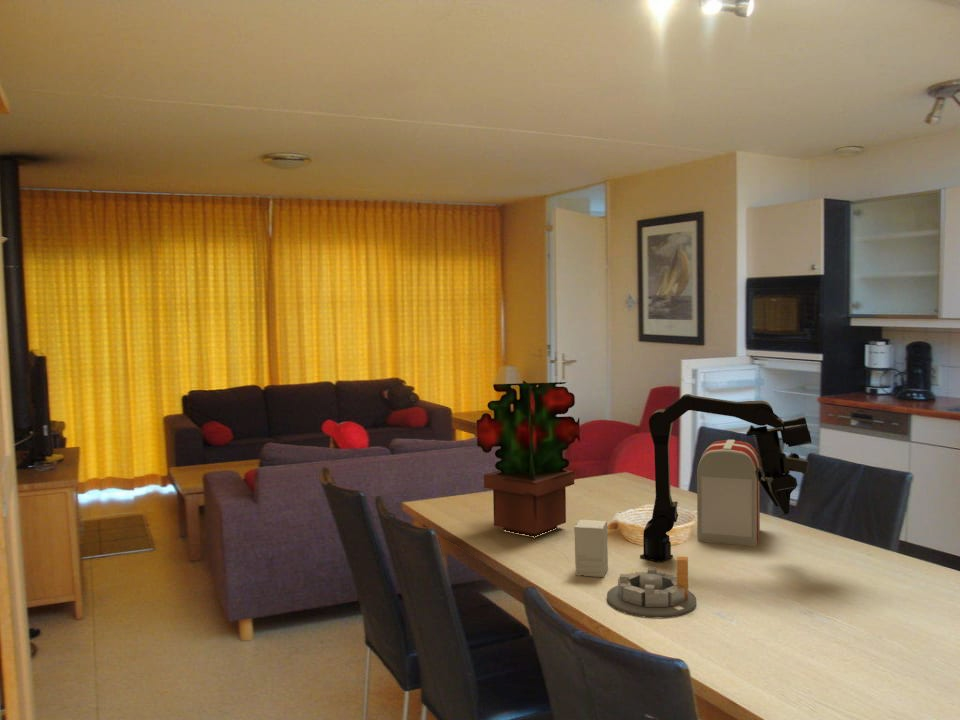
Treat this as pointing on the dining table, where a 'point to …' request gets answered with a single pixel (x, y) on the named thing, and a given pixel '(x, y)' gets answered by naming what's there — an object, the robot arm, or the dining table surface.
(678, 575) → the grey stone ring wall
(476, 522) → the dining table surface
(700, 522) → the red-striped tombstone block
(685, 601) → the grey stone circle model
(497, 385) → the potted plant
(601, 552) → the supplement box
